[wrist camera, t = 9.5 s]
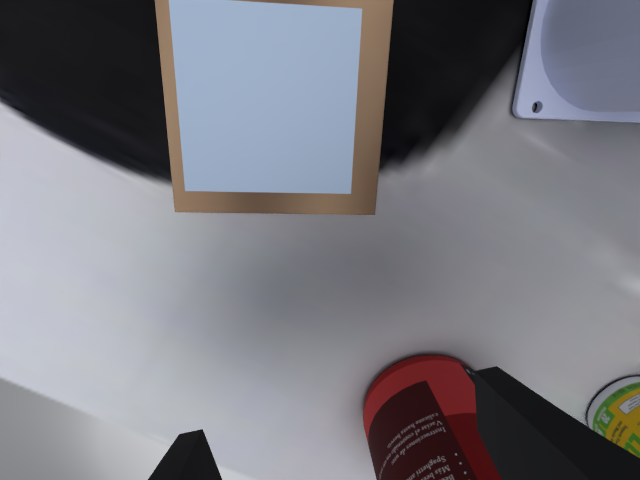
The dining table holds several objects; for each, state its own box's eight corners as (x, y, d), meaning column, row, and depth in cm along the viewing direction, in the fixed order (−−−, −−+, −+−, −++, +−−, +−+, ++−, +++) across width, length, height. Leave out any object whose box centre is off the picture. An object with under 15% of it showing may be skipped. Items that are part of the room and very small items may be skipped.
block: (332, 50, 14) (362, 8, 9) (328, 165, 16) (351, 193, 10) (216, 44, 14) (168, -4, 8) (222, 163, 15) (185, 191, 10)
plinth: (383, 0, 16) (395, -14, 14) (367, 206, 18) (375, 215, 17) (166, -14, 15) (150, -31, 13) (184, 203, 18) (173, 213, 16)
